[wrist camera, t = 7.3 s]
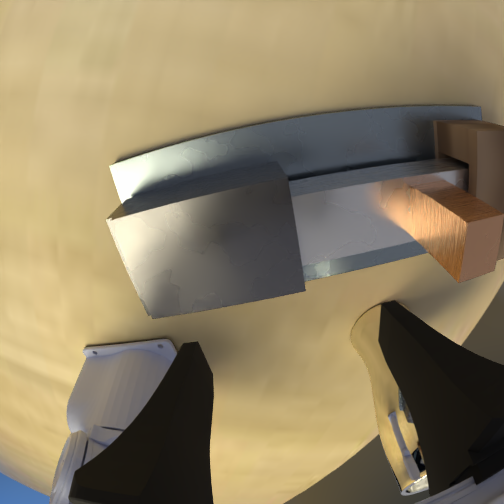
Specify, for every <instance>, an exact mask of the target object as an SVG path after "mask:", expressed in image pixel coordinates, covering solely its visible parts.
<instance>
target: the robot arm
mask: <svg viewBox="0 0 504 504" xmlns="http://www.w3.org/2000/svg"><path fill="white" fill-rule="evenodd" d="M378 342H379V345H380V348H381V350H382V353H383V356H384V359H385V361H386V363H387V366H388V368H389V369H390V371H391V373H392V375H393V377H394V379H395V381H396V383H397V385H398V387H399V389H400V391H401V393H402V395H403V397H404V400H405V402H406V404H407V406H408V408H409V411H410V414H411V417H412V420H413V423H414V426H415V429H416V432H417V436H418V439H419V443H420V447H421V451H422V455H423V459H424V464H425V469H426V474H427V480H428V487H429V494H430V497H429V498H427V499H425V500H423V501H420V502H417V503H415V504H504V365H501V364H499V363H496V362H493V361H491V360H488V359H486V358H484V357H481V356H479V355H477V354H475V353H473V352H471V351H469V350H467V349H465V348H463V347H462V346H460V345H458V344H456V343H455V342H453V341H451V340H450V339H448V338H447V337H445V336H443V335H442V334H440V333H439V332H437V331H436V330H434V329H433V328H432V327H430V326H429V325H427V324H426V323H425V322H423V321H422V320H420V319H419V318H418V317H416V316H415V315H414V314H412V313H411V312H410V311H408V310H407V309H406V308H404V307H403V306H402V305H400V304H399V303H398V302H396V301H395V300H394V301H391V302H387V303H383V304H381V312H380V325H379V336H378ZM159 344H161V345H159ZM83 353H84V355H85V356H86V360H85V363H84V365H83V367H82V370H81V372H80V374H79V377H78V379H77V381H76V384H75V386H74V388H73V391H72V393H71V396H70V398H69V401H68V405H67V422H68V426H69V429H70V431H71V434H70V435H69V437H68V439H67V441H66V443H65V445H64V448H63V450H62V453H61V456H60V459H59V462H58V465H57V468H56V472H55V476H54V480H53V486H52V492H51V495H50V503H49V504H213V495H212V485H211V472H210V436H211V424H212V413H213V400H214V388H213V374H212V372H211V369H210V367H209V365H208V363H207V361H206V358H205V356H204V354H203V352H202V350H201V347H200V345H199V343H198V341H197V342H190V343H183V344H182V346H181V348H180V349H179V351H178V353H177V351H176V349H175V347H174V345H173V343H172V342H171V341H170V340H169V339H159V340H151V341H143V342H134V343H125V344H116V345H105V346H94V347H85V348H84V349H83Z"/></svg>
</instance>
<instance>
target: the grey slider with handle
mask: <svg viewBox="0 0 504 504" xmlns="http://www.w3.org/2000/svg"><path fill="white" fill-rule="evenodd" d="M468 186H469V164H468V163H466V162H463V161H461V160H458V159H456V158H453V157H449V158H440V159H431V160H422V161H414V162H406V163H398V164H391V165H384V166H377V167H370V168H364V169H357V170H351V171H345V172H339V173H333V174H327V175H321V176H315V177H310V178H304V179H299V180H294V181H289V187H290V193H291V199H292V204H293V210H294V216H295V223H296V229H297V235H298V241H299V248H300V255H301V261H302V266H304V265H309V264H314V263H318V262H323V261H328V260H332V259H337V258H342V257H346V256H351V255H355V254H360V253H364V252H369V251H373V250H378V249H382V248H386V247H391V246H395V245H400V244H404V243H408V242H412V241H417V242H418V243H419V244H421V245H422V246H423V247H424V248H425V249H426V250H427V251H428V252H429V253H430V254H431V255H432V256H433V257H434V258H435V259H436V260H437V261H438V262H439V263H440V264H441V265H442V266H443V267H444V268H445V269H446V270H447V271H448V272H449V273H450V274H451V275H452V276H453V278H454V279H455V280H456V281H457V282H458V283H460V282H463V281H466V280H469V279H472V278H475V277H478V276H481V275H483V274H486V273H489V272H492V271H494V269H495V265H496V260H497V255H498V250H499V245H500V239H501V233H502V226H503V219H504V214H503V213H501V212H500V211H498V210H497V209H495V208H493V207H492V206H490V205H488V204H487V203H485V202H483V201H482V200H480V199H478V198H477V197H475V196H473V195H471V194H470V193H468Z"/></svg>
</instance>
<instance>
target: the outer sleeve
mask: <svg viewBox="0 0 504 504" xmlns="http://www.w3.org/2000/svg"><path fill="white" fill-rule="evenodd" d="M434 120H481V121H482V114H481V107H479V106H467V105H418V106H394V107H379V108H367V109H356V110H346V111H337V112H329V113H321V114H314V115H307V116H301V117H294V118H288V119H282V120H277V121H271V122H266V123H261V124H256V125H251V126H246V127H241V128H236V129H232V130H228V131H223V132H219V133H215V134H211V135H207V136H203V137H199V138H195V139H191V140H187V141H184V142H180V143H177V144H173V145H170V146H166V147H163V148H159V149H156V150H153V151H150V152H146V153H143V154H140V155H137V156H134V157H131V158H128V159H125V160H122V161H119V162H116V163H114V164H112V165H110V170H111V173H112V176H113V179H114V182H115V185H116V188H117V191H118V194H119V197H120V200H121V203H122V204H121V205H120V206H119V207H118V208H117V209H116V210H115V211H114V212H113V213H112V214H111V215H110V216H109V217H108V218H107V219H106V221H107V224H108V226H109V229H110V231H111V234H112V236H113V239H114V241H115V244H116V246H117V249H118V251H119V253H120V256H121V258H122V260H123V263H124V265H125V267H126V269H127V272H128V274H129V276H130V278H131V281H132V283H133V285H134V287H135V289H136V291H137V293H138V296H139V298H140V300H141V302H142V304H143V306H144V308H145V310H146V312H147V314H148V316H149V315H151V317H152V319H156V318H162V317H169V316H175V315H181V314H187V313H193V312H199V311H205V310H211V309H216V308H222V307H227V306H233V305H238V304H244V303H249V302H254V301H259V300H264V299H269V298H274V297H279V296H284V295H289V294H294V293H299V292H303V291H306V289H305V281H309V280H314V279H319V278H323V277H328V276H332V275H337V274H341V273H346V272H350V271H354V270H359V269H363V268H367V267H371V266H376V265H380V264H384V263H388V262H392V261H396V260H400V259H405V258H409V257H413V256H416V255H420V254H424V253H428V251H427V250H426V249H425V248H424V247H423V246H422V245H421V244H419V243H418V242H417V241H412V242H408V243H404V244H400V245H395V246H391V247H386V248H382V249H378V250H373V251H369V252H364V253H360V254H355V255H351V256H346V257H342V258H337V259H332V260H328V261H323V262H318V263H314V264H309V265H304V266H302V261H301V255H300V248H299V241H298V235H297V229H296V223H295V216H294V210H293V204H292V199H291V193H290V187H289V181H294V180H299V179H304V178H310V177H315V176H321V175H327V174H333V173H339V172H345V171H351V170H357V169H364V168H370V167H377V166H384V165H391V164H398V163H406V162H414V161H422V160H431V159H435V140H434V126H433V121H434Z"/></svg>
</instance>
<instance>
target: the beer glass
mask: <svg viewBox="0 0 504 504" xmlns="http://www.w3.org/2000/svg"><path fill="white" fill-rule="evenodd" d="M399 304H400V305H402V306H403V307H404V308H406V309H407V310H408V311H410V310H409V309H408V307H406V306H405V305H404V304H402V303H399ZM380 312H381V304H380V305H377V306H375V307H373V308H371V309H370V310H368V311H367V312H366V313H364V314H363V315H362V316H361V317H360V318H359V319H358V321H357V322H356V323H355V325H354V327H353V329H352V332H351V343H352V345H353V347H354V349H355V350H356V351H357V353H358V354H359V356H360V357H361V358H362V360H363V361H364V363H365V365H366V368H367V370H368V373H369V376H370V381H371V387H372V393H373V401H374V407H375V414H376V420H377V425H378V430H379V434H380V438H381V441H382V445H383V448H384V451H385V454H386V456H387V459H388V462H389V464H390V467H391V469H392V472H393V474H394V476H395V479H396V481H397V483H398V486H399V488H400V491H401V494H402V495H411V494H415V493H418V492H421V491H424V490H427V489H429V487H428V480H427V474H426V469H425V464H424V459H423V455H422V451H421V447H420V443H419V439H418V436H417V432H416V429H415V426H414V423H413V420H412V417H411V414H410V411H409V408H408V406H407V404H406V402H405V400H404V397H403V395H402V393H401V391H400V389H399V387H398V385H397V383H396V381H395V379H394V377H393V375H392V373H391V371H390V369H389V368H388V366H387V363H386V361H385V359H384V356H383V353H382V350H381V348H380V345H379V342H378V336H379V325H380Z"/></svg>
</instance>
